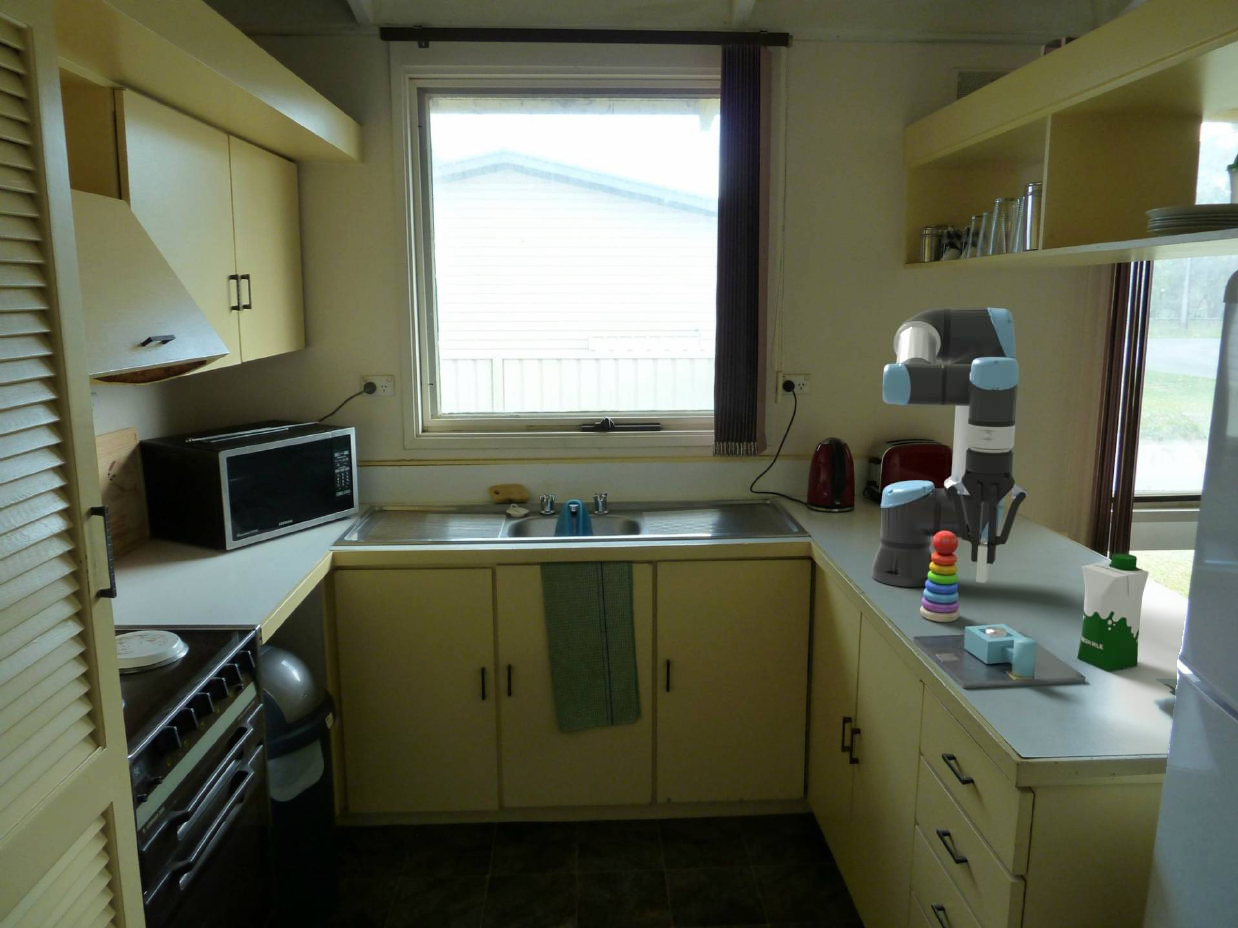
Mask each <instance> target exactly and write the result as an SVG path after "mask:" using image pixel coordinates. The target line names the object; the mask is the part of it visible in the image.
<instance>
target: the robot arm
mask: <svg viewBox="0 0 1238 928" xmlns="http://www.w3.org/2000/svg"><path fill="white" fill-rule="evenodd" d="M1014 325H1015V324H1014V319H1013V315H1012V313H1011V311H1010V310H1008V309H1006V308H997V307H995V308H994V307H963V308H962V307H961V308H957V307H956V308H954V307H953V308H941V307H940V308H932V309H928V310H924V311H923V312H919V313H917V314H916V315H913V316H912V317H910V318H908V319H906V320H905V321H904V322H903V323H902V324H901V325H900V326H899V327H898V329H897V331H896V332H895V335H894V338H893V350H894V352H895V354H896V362H895V363H888V364H885V366H884V368H883V374H882V375H883V376H882V377H883V378H882V400H883V402H884V403H886V404H889V405H900V406H953V407H954V406H955V412H954V413H955V414H954V429H953V430H954V431H953V446H952V463H951V464H952V465H951V475H950V476H949V477H948V478H946V479H945V480H944V483H943V488H935V484H934V483H933V482H932V481H929V480H918V479H917V480H906V481H905V480H904V481H898V482H895V483H890V484H889V485H887V486H885V487H884V488H883V490H882V496H881V503H880V508H881V517H880V518H881V519H880V537H879V538H880V539H879V540H880V541H879V547H878V549H877V551H876V555H875V557H874V560H873V563H872V566H871V577H872V578H873V579H874V580H875V581H877V582H880V583H882V584H885V585H889V586H890V585H891V586H894V587H895V586H896V587H907V588H911V587H912V588H915V587H916V588H917V587H920V588H921V587H926V586H925V583H926V581H927V580H928V573H929V571H931V570H930V567H929V566H930V563H931V562H933V561H932V559H931V555H932V554H933V552H932V539H933V538H934V536H935V535H936V534H937V533H938V532H940V531H949V532H952V533H953V534H954V535H955V536H956V537H957V539H958V540H963V541H967V542H969V543H970V545H971V552H970V555H971V556H970V559H971V562H973V563H976V578H975V582H977V583H983V584H984V583H985V584H986V582H987V580H988V575H989V564H990V565H993V564H994V563H995V561H996V553H997V546H1000V545H1005V544H1006V543H1007V542H1008V539H1009V537H1010V535H1011V532H1012V529H1013V525H1014V524H1015V520H1016V517H1017V515H1018V511H1019V508H1020V506H1021V504H1022V502H1024V501H1025V500H1026V498H1027V496H1028V495H1029V494H1028V493H1029V492H1028V491H1027V490H1026V489H1023V488H1020V487H1019V486H1018V485H1016V481H1015V479H1014V476H1013V465H1014V451H1012V448H1013V447H1015V435H1016V413H1017V399H1018V386H1019V382H1020V376H1019V375H1020V374H1019V362H1018V360H1017V359H1016V347H1017V346H1016V336H1015V326H1014ZM937 362H938V363H937ZM939 362H941V363H939ZM942 363H943V364H942ZM945 363H946V364H945ZM1010 491H1011V495H1010V498H1011V500H1013V501H1012V502H1011V504H1010V506H1009V509H1008V512H1007V514H1006V518H1005V522H1004V524H1003V526H1002V530H1001V532H1000V534H999V535H998V532H999V529H1000V526H1001V523H1002V517H1003V508H1004V505H1005V497H1006V496H1007V495H1008V494H1009V492H1010ZM981 541H982V542H981ZM983 541H987V542H983Z"/></svg>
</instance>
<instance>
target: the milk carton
mask: <svg viewBox="0 0 1238 928" xmlns="http://www.w3.org/2000/svg"><path fill="white" fill-rule="evenodd" d="M1137 561H1138V557H1137V556H1136V555H1133V554H1130V553H1122V552H1118V553H1112V554H1111V560H1110V561H1104V562H1095V563H1094V562H1093V563H1091V564H1087V565H1082V566H1081V569H1082V574H1083V581H1084V602H1083V611H1082V612H1083V614H1082V627H1081V635H1080V640H1079V645H1078V646H1079V647H1078V651H1077V652H1078V653H1077V656H1076V658H1077V659H1079V660H1081V661H1082V662H1085V663H1088V664H1090V665H1092V666H1094V667H1097V668H1099V669H1100V670H1103V671H1106V672H1108V673H1110V672H1115V671H1120V670H1123V669H1124V670H1125V669H1130V668H1134V667H1137V666H1139V665H1138V664H1139V663H1138V662H1139V661H1138V657H1139V637H1140V625H1141V616H1142V615H1141V614H1142V604H1143V603H1142V602H1143V595H1144V591H1145V588H1146V584H1147V580H1148V577H1149V573H1150V572H1149V571H1147V570H1144V569H1142V568H1139V567H1137V563H1138V562H1137Z"/></svg>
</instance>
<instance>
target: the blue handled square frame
mask: <svg viewBox="0 0 1238 928" xmlns="http://www.w3.org/2000/svg"><path fill="white" fill-rule="evenodd" d="M987 627H1000V628H1003V629H1005V630H1006V631H1007V633H1006V637H998V638H990V637H989V636H987V635H986V634H985V630H986V628H987ZM1017 632H1018V631H1016V630H1014V629H1013V628H1011V627H1009V626H1008V625H1006V624H1005V623H996V624H984V625H972V626H971V625H970V626H964V634H965V638H964V648H965V649H966V650H968V651H969V652H970V653H972V654H973V655H975V656H976V657H978V658H979V659H980V660H982V661H983V662H985V663H986V664H992V663H1003V662H1010V663H1012V664H1013V666H1012V673H1013V674H1014V675H1016V676H1019V677H1025V678H1029V677H1033V676H1034V673H1035V659H1036V645H1037V641H1036V640H1035V639H1034V638H1033V639H1032V638H1031V637H1029V638H1026V637H1024V636H1022V635H1021V634H1019V633H1017ZM1030 638H1031V639H1030Z"/></svg>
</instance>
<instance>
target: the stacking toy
mask: <svg viewBox="0 0 1238 928" xmlns="http://www.w3.org/2000/svg"><path fill="white" fill-rule="evenodd" d="M958 540H959V539H957V537H956V536H955V535H954V534H953V533H952V532H949V531H940V532H938V533H937V534H936V535H935V536H934V538H932V540H931V545H932V547H933V550H934V551H935V552H932V555H931V559H932V561H933V562H931V563H930V566H929V567H930V570H931V571H929V573H928V580H927V581H926V583H925V586H924V587H925V588H924V590H923V593H922V594H923V597H922V599H921V606H920V608H919V613H920V615H921V616H922V617H923V618H925V619H927V620H929V621H933V622H939V623H950V622H955V621H956V620H958V619H959V617H960V610H959V608H960V603H959V597H960V596H959V593H958V590H959V585H958V583H957V582H958V579H959V577H958V574H957V571H958V566H957V564H956V563H957V560H958V558H957V555H955V554H954V553H955V551H957V549H958V547H959V541H958Z"/></svg>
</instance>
